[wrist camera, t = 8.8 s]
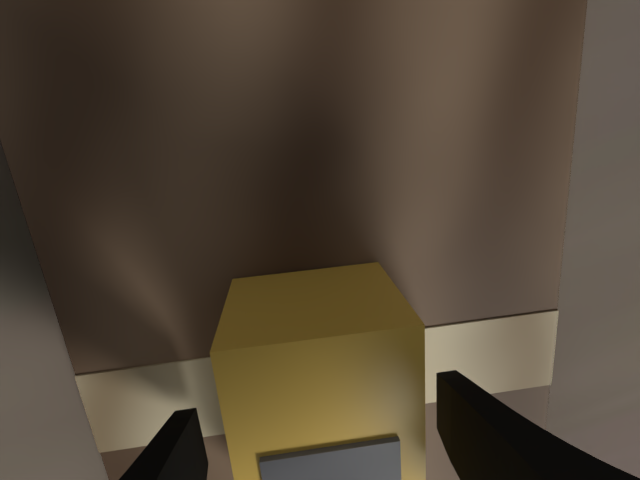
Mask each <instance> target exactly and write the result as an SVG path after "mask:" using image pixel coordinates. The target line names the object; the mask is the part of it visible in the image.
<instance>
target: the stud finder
mask: <svg viewBox="0 0 640 480" xmlns="http://www.w3.org/2000/svg"><path fill="white" fill-rule="evenodd" d="M210 357H211V363H212V368H213V373H214V378H215V383H216V389H217V394H218V399H219V404H220V410H221V415H222V420H223V425H224V430H225V436H226V441H227V446H228V451H229V457H230V462H231V467H232V472H233V477H234V480H426V431H425V324H424V323H423V322H422V320H421V319H420V318H419V316H418V315H417V314H416V312H415V311H414V310H413V308H412V307H411V305H410V304H409V303H408V301H407V300H406V299H405V297H404V296H403V295H402V293H401V292H400V291H399V289H398V288H397V287H396V285H395V284H394V283H393V281H392V280H391V279H390V277H389V276H388V275H387V273H386V272H385V271H384V269H383V268H382V267H381V265H380V264H379V263H378V262H374V263H365V264H356V265H348V266H339V267H331V268H322V269H313V270H305V271H296V272H288V273H279V274H270V275H262V276H253V277H245V278H236V279H232V282H231V285H230V289H229V292H228V295H227V298H226V301H225V305H224V308H223V311H222V314H221V318H220V321H219V324H218V327H217V330H216V334H215V337H214V340H213V343H212V346H211V350H210Z"/></svg>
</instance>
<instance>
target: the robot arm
mask: <svg viewBox="0 0 640 480" xmlns="http://www.w3.org/2000/svg"><path fill="white" fill-rule="evenodd" d="M436 403H437V430H438V433H439V435H440V438H441V440H442V443H443V445H444V448H445V450H446V452H447V455H448V457H449V460H450V462H451V464H452V466H453V467H454V469H455V471H456V473H457V475H458V477H459V479H460V480H640V478H638V477H635V476H633V475H631V474H629V473H626V472H624V471H622V470H620V469H618V468H615V467H613V466H611V465H609V464H607V463H605V462H603V461H601V460H599V459H597V458H595V457H593V456H591V455H589V454H587V453H586V452H584V451H582V450H580V449H578V448H576V447H574V446H572V445H570V444H568V443H567V442H565V441H563V440H561V439H560V438H558V437H556V436H554V435H553V434H551V433H549V432H548V431H546V430H544V429H543V428H541V427H539V426H538V425H536V424H534V423H533V422H531V421H530V420H528V419H527V418H525V417H523V416H522V415H520V414H519V413H517V412H516V411H514V410H513V409H511V408H510V407H508V406H507V405H505V404H504V403H502V402H501V401H499V400H498V399H497V398H495V397H494V396H492V395H491V394H489V393H488V392H487V391H485V390H484V389H482V388H481V387H479V386H478V385H477V384H475V383H474V382H472V381H471V380H470V379H468V378H467V377H465V376H464V375H462V374H461V373H460V372H458V371H457V370H452V371H445V372H439V373H436ZM208 464H209V463H208V458H207V454H206V449H205V445H204V440H203V436H202V431H201V427H200V422H199V418H198V413H197V409H196V408H191V409H184V410H177V411H174V413H173V414H172V415H171V416H170V417H169V419H168V420H167V421H166V422H165V424H164V425H163V426H162V427H161V429H160V430H159V431H158V432H157V434H156V435H155V436H154V437H153V439H152V440H151V441H150V442H149V444H148V445H147V446H146V447H145V449H144V450H143V451H142V452H141V454H140V455H139V456H138V457H137V458H136V460H135V461H134V462H133V463H132V464H131V466H130V467H129V468H128V469H127V471H126V472H125V473H124V474H123V475H122V476H121V478H120V479H119V480H207V473H208Z"/></svg>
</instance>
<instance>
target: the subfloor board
mask: <svg viewBox="0 0 640 480" xmlns="http://www.w3.org/2000/svg"><path fill="white" fill-rule="evenodd" d="M586 9H587V0H0V141H1V144H2V147H3V150H4V153H5V156H6V159H7V162H8V166H9V169H10V172H11V175H12V178H13V181H14V184H15V187H16V191H17V194H18V197H19V200H20V203H21V206H22V209H23V212H24V216H25V219H26V222H27V225H28V228H29V231H30V234H31V237H32V241H33V244H34V247H35V250H36V253H37V256H38V259H39V262H40V266H41V269H42V272H43V275H44V278H45V281H46V284H47V287H48V291H49V294H50V297H51V300H52V303H53V306H54V309H55V312H56V316H57V319H58V322H59V325H60V328H61V331H62V334H63V337H64V341H65V344H66V347H67V350H68V353H69V356H70V359H71V362H72V366H73V369H74V372H75V380H76V383H77V386H78V389H79V392H80V395H81V399H82V402H83V405H84V408H85V411H86V414H87V417H88V420H89V423H90V427H91V430H92V433H93V436H94V439H95V442H96V445H97V448H98V451H99V453H101V456H102V459H103V462H104V466H105V469H106V472H107V475H108V478H109V480H119V479H120V478H121V476H122V475H123V474H124V473H125V472H126V471H127V469H128V468H129V467H130V466H131V464H132V463H133V462H134V461H135V460H136V458H137V457H138V456H139V455H140V454H141V452H142V451H143V450H144V449H145V447H146V446H147V445H148V444H149V442H150V441H151V440H152V439H153V437H154V436H155V435H156V434H157V432H158V431H159V430H160V429H161V427H162V426H163V425H164V424H165V422H166V421H167V420H168V419H169V417H170V416H171V415H172V414H173V413H174V411H177V410H184V409H191V408H196V409H197V413H198V418H199V422H200V427H201V431H202V436H203V440H204V445H205V449H206V454H207V458H208V463H209V464H208V473H207V480H234V477H233V472H232V467H231V462H230V457H229V451H228V446H227V441H226V436H225V430H224V425H223V420H222V415H221V410H220V404H219V399H218V394H217V389H216V383H215V378H214V373H213V368H212V363H211V357H210V350H211V346H212V343H213V340H214V337H215V334H216V330H217V327H218V324H219V321H220V318H221V314H222V311H223V308H224V305H225V301H226V298H227V295H228V292H229V289H230V285H231V282H232V279H236V278H245V277H253V276H262V275H270V274H279V273H288V272H296V271H305V270H313V269H322V268H331V267H339V266H348V265H356V264H365V263H374V262H378V263H379V264H380V265H381V267H382V268H383V269H384V271H385V272H386V273H387V275H388V276H389V277H390V279H391V280H392V281H393V283H394V284H395V285H396V287H397V288H398V289H399V291H400V292H401V293H402V295H403V296H404V297H405V299H406V300H407V301H408V303H409V304H410V305H411V307H412V308H413V310H414V311H415V312H416V314H417V315H418V316H419V318H420V319H421V320H422V322H423V323H424V324H425V431H426V480H460V479H459V477H458V475H457V473H456V471H455V469H454V467H453V466H452V464H451V462H450V460H449V457H448V455H447V452H446V450H445V448H444V445H443V443H442V440H441V438H440V435H439V433H438V430H437V403H436V373H439V372H445V371H452V370H457V371H458V372H460V373H461V374H462V375H464V376H465V377H467V378H468V379H470V380H471V381H472V382H474V383H475V384H477V385H478V386H479V387H481V388H482V389H484V390H485V391H487V392H488V393H489V394H491V395H492V396H494V397H495V398H497V399H498V400H499V401H501V402H502V403H504V404H505V405H507V406H508V407H510V408H511V409H513V410H514V411H516V412H517V413H519V414H520V415H522V416H523V417H525V418H527V419H528V420H530V421H531V422H533V423H534V424H536V425H538V426H539V427H541V428H543V429H544V430H546V421H547V410H548V400H549V390H550V385H551V384H552V374H553V364H554V353H555V343H556V333H557V323H558V313H559V310H557V307H558V297H559V287H560V277H561V266H562V256H563V246H564V235H565V225H566V215H567V204H568V194H569V184H570V174H571V163H572V153H573V143H574V132H575V122H576V112H577V101H578V91H579V81H580V71H581V60H582V50H583V40H584V29H585V19H586Z"/></svg>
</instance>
